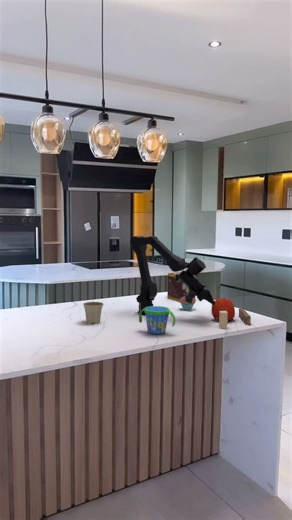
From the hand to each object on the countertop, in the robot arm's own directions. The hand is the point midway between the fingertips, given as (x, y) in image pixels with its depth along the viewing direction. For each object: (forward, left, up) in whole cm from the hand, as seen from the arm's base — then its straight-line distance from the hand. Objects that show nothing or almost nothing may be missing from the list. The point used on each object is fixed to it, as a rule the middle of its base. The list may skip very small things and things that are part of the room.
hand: (214, 304), depth 182 cm
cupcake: (0, +25, -8) cm, 26 cm away
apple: (+4, -1, -8) cm, 9 cm away
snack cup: (-33, -8, -8) cm, 35 cm away
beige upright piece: (+2, -1, -8) cm, 8 cm away
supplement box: (+10, +50, -8) cm, 52 cm away
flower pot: (-53, +18, -8) cm, 57 cm away
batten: (+13, -6, -8) cm, 16 cm away
